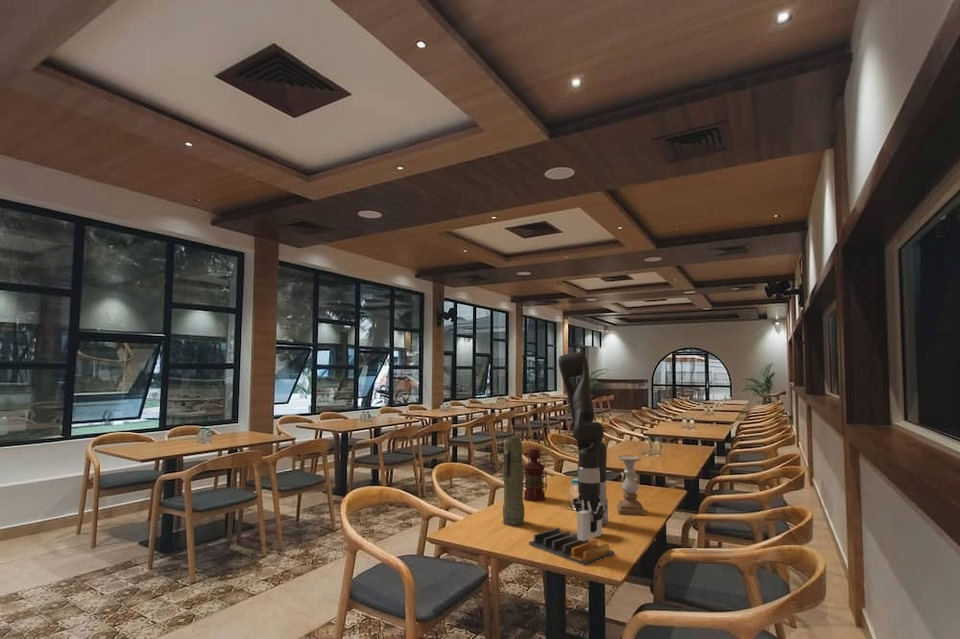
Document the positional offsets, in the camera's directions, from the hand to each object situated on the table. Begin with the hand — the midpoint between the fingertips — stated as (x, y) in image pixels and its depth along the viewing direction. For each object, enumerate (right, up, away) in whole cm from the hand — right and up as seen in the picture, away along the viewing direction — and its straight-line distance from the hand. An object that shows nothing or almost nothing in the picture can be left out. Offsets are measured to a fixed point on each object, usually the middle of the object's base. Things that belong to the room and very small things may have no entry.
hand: (589, 530), depth 185 cm
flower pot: (+6, -11, +22) cm, 25 cm away
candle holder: (+29, -13, +53) cm, 62 cm away
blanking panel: (0, -2, 0) cm, 2 cm away
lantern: (-11, -14, +75) cm, 78 cm away
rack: (-5, -9, +6) cm, 12 cm away
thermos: (-24, -12, +38) cm, 46 cm away
